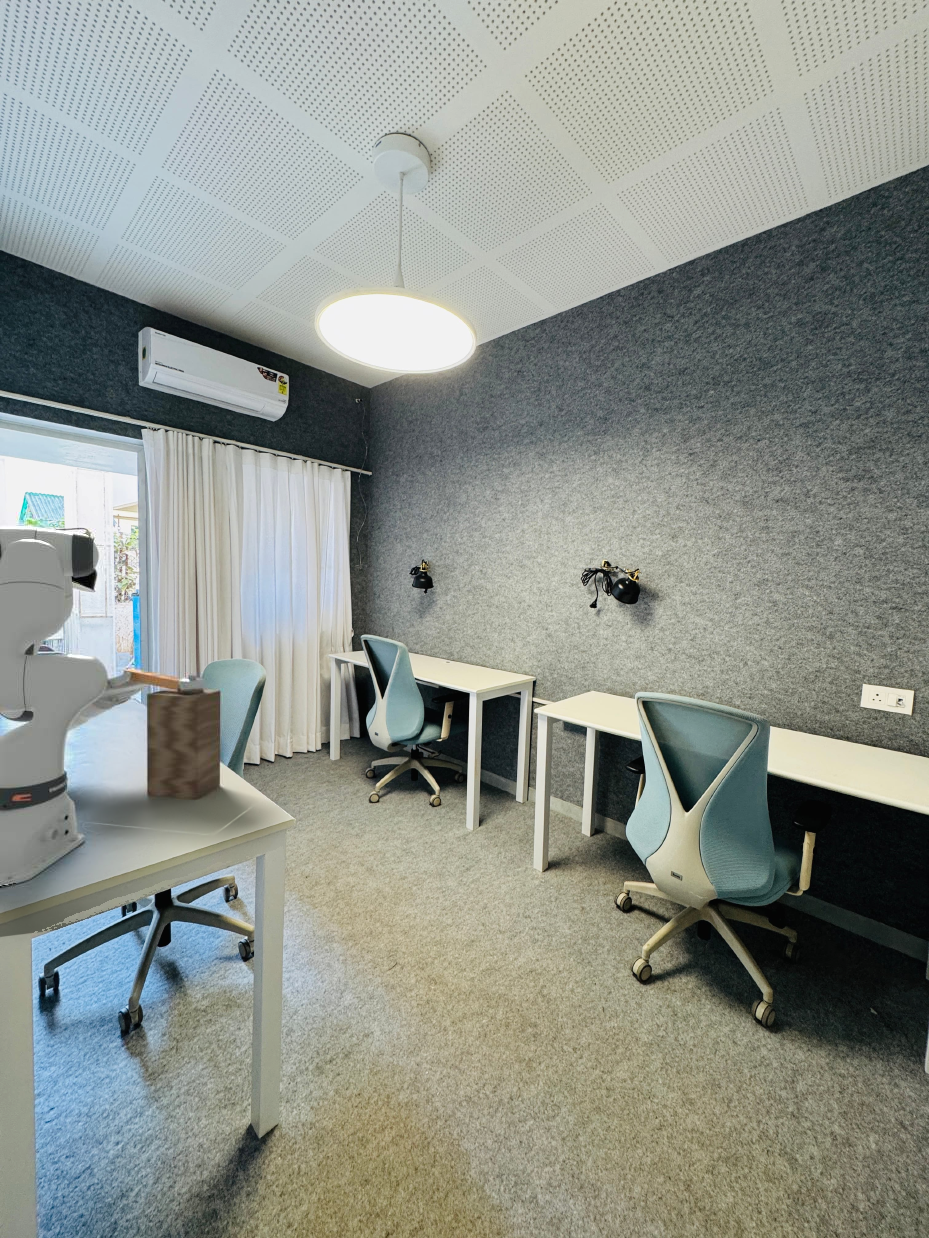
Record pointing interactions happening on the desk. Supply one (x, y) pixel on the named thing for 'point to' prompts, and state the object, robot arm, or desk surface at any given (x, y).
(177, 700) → the pedestal
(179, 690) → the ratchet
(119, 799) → the desk surface
